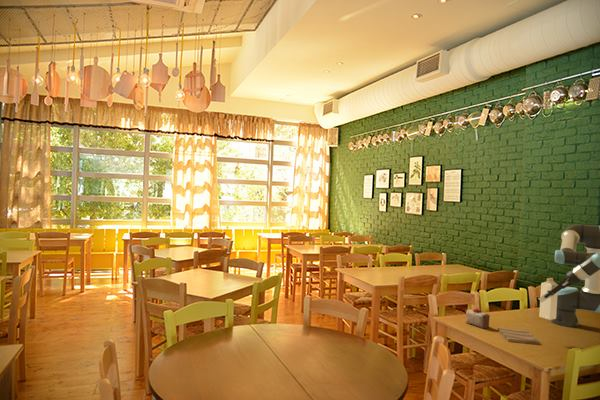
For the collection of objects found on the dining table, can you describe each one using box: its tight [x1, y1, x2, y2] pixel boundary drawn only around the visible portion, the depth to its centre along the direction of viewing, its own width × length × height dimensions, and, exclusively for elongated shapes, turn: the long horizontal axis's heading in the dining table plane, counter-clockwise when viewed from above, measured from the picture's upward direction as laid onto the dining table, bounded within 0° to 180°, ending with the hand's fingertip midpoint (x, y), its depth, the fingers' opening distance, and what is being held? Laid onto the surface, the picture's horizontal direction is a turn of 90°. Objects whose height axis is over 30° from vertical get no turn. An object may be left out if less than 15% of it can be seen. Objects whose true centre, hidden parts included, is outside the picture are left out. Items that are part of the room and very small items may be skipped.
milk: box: [539, 277, 559, 321], centre depth 238 cm, size 6×6×22 cm
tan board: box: [497, 327, 541, 346], centre depth 243 cm, size 20×16×2 cm
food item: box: [465, 308, 490, 329], centre depth 262 cm, size 14×8×10 cm, turn 31°
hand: (541, 299), depth 241 cm, fingers closed on milk, 8 cm apart
